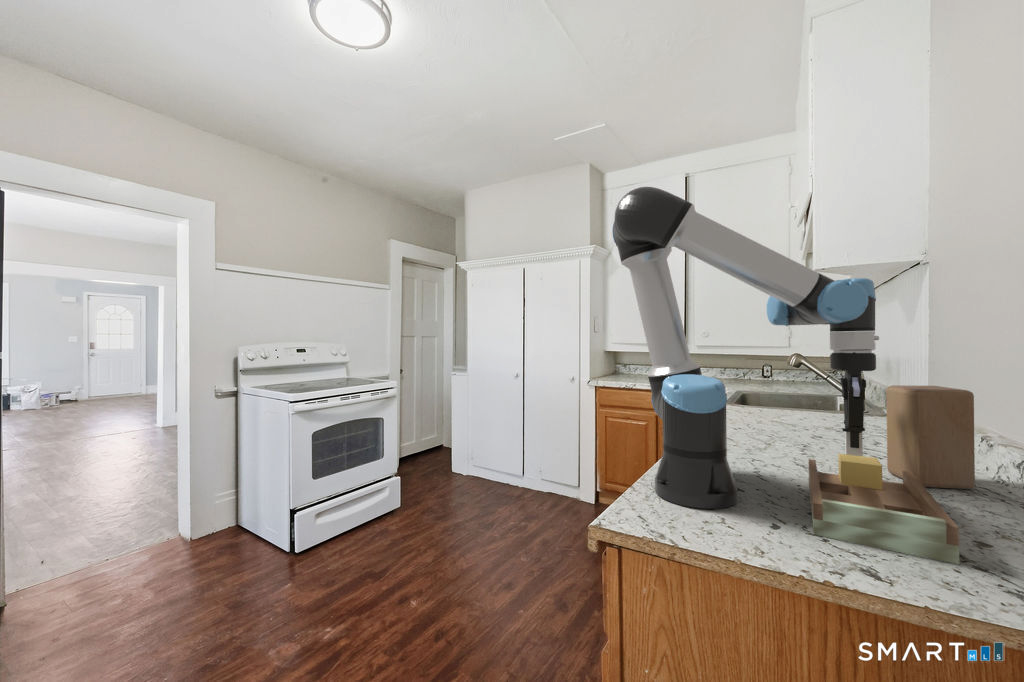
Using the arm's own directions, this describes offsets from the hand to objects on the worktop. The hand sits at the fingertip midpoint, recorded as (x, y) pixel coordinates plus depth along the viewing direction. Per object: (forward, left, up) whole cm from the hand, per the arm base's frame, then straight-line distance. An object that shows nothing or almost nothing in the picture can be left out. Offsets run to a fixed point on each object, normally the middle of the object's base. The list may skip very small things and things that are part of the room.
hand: (854, 461), depth 88 cm
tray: (0, -20, -4) cm, 20 cm away
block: (+13, +8, -5) cm, 16 cm away
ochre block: (0, -9, -2) cm, 9 cm away
